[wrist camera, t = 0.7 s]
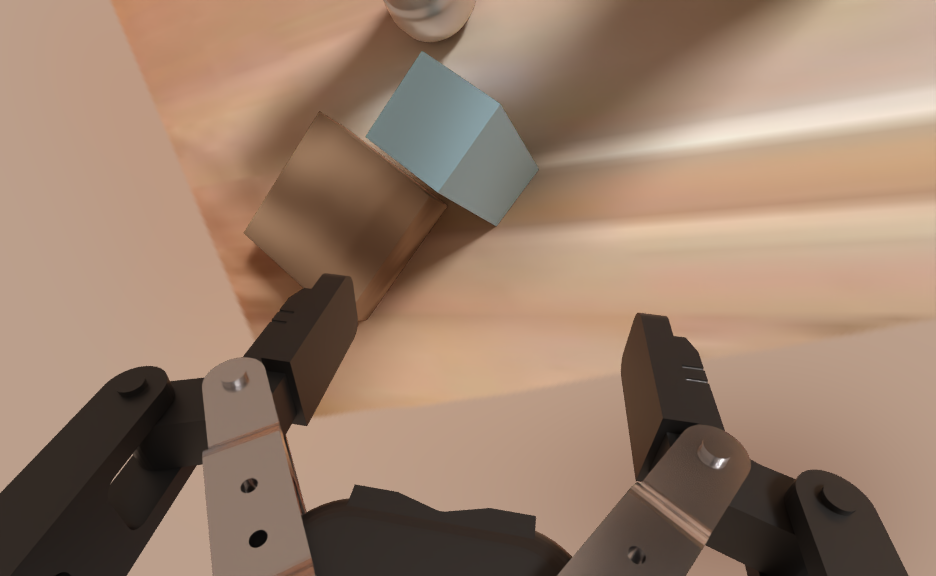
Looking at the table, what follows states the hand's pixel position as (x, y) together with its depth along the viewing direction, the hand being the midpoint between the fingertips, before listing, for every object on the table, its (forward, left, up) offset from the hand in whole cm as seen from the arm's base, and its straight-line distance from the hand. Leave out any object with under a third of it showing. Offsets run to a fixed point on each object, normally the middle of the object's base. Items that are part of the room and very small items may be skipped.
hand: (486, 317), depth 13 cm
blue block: (-4, -9, -20) cm, 23 cm away
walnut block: (+5, -16, -21) cm, 27 cm away
